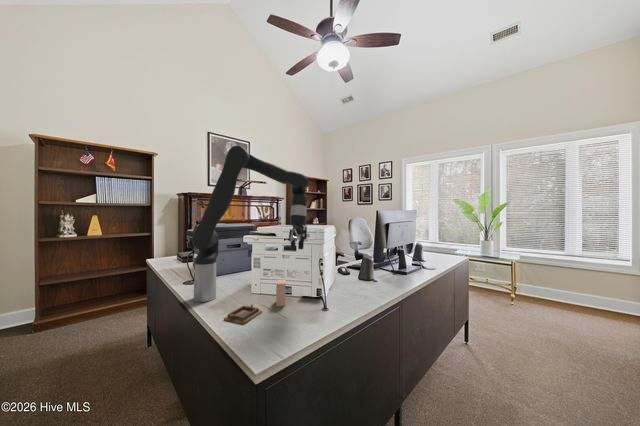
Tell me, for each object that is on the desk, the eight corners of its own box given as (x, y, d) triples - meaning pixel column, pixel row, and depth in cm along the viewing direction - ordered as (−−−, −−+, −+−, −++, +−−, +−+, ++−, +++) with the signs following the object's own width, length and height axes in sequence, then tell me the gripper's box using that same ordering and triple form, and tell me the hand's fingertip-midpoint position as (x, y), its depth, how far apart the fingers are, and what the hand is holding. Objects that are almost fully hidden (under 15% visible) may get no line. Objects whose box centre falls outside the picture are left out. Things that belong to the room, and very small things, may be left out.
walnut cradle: (223, 320, 92) (223, 313, 92) (243, 308, 103) (243, 302, 103) (244, 324, 89) (244, 317, 89) (262, 312, 100) (262, 305, 100)
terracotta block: (276, 306, 106) (276, 284, 106) (276, 301, 112) (276, 280, 112) (285, 306, 107) (285, 283, 107) (284, 300, 113) (285, 279, 113)
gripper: (285, 217, 119) (283, 250, 115) (297, 211, 107) (295, 248, 103) (298, 219, 123) (297, 251, 119) (312, 214, 111) (311, 249, 107)
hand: (296, 249), depth 111 cm, fingers open, 8 cm apart
